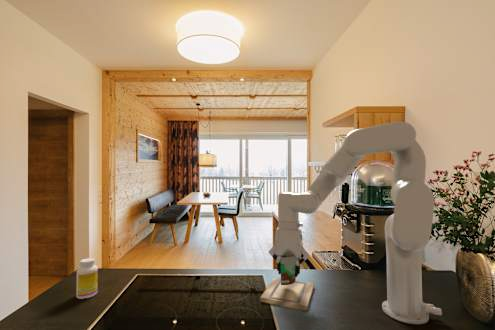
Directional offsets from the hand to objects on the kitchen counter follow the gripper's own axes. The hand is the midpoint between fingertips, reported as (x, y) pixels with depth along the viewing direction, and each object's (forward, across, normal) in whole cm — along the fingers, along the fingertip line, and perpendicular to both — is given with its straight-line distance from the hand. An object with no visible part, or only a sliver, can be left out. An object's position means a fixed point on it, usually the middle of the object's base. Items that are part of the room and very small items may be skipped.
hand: (288, 273), depth 93 cm
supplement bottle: (+8, +69, +28) cm, 75 cm away
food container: (+2, -1, 0) cm, 3 cm away
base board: (+7, 0, 0) cm, 7 cm away
